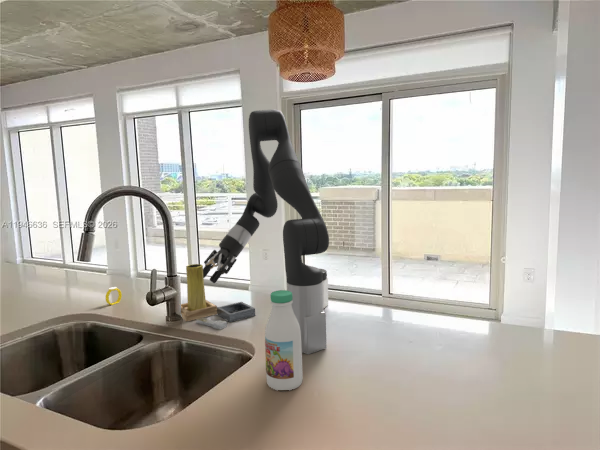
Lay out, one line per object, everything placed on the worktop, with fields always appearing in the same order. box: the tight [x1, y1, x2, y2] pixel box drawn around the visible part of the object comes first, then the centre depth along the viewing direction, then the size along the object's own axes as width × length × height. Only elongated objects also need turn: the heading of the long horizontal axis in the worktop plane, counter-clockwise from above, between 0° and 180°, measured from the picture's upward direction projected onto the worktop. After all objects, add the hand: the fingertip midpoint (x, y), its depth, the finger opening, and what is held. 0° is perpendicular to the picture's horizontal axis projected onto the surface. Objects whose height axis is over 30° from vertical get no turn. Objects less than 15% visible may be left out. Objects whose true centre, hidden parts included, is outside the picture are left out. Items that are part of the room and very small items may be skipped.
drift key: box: [195, 317, 228, 330], centre depth 123 cm, size 10×3×1 cm, turn 56°
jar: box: [319, 268, 329, 310], centre depth 138 cm, size 9×8×12 cm
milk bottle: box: [264, 289, 303, 391], centre depth 87 cm, size 8×8×20 cm
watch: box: [105, 286, 123, 306], centre depth 147 cm, size 6×3×6 cm, turn 155°
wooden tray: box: [180, 299, 218, 322], centre depth 134 cm, size 11×11×2 cm
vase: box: [185, 263, 207, 311], centre depth 134 cm, size 6×6×14 cm
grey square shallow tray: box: [216, 301, 256, 323], centre depth 131 cm, size 9×9×2 cm
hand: (206, 279), depth 136 cm, fingers open, 8 cm apart
